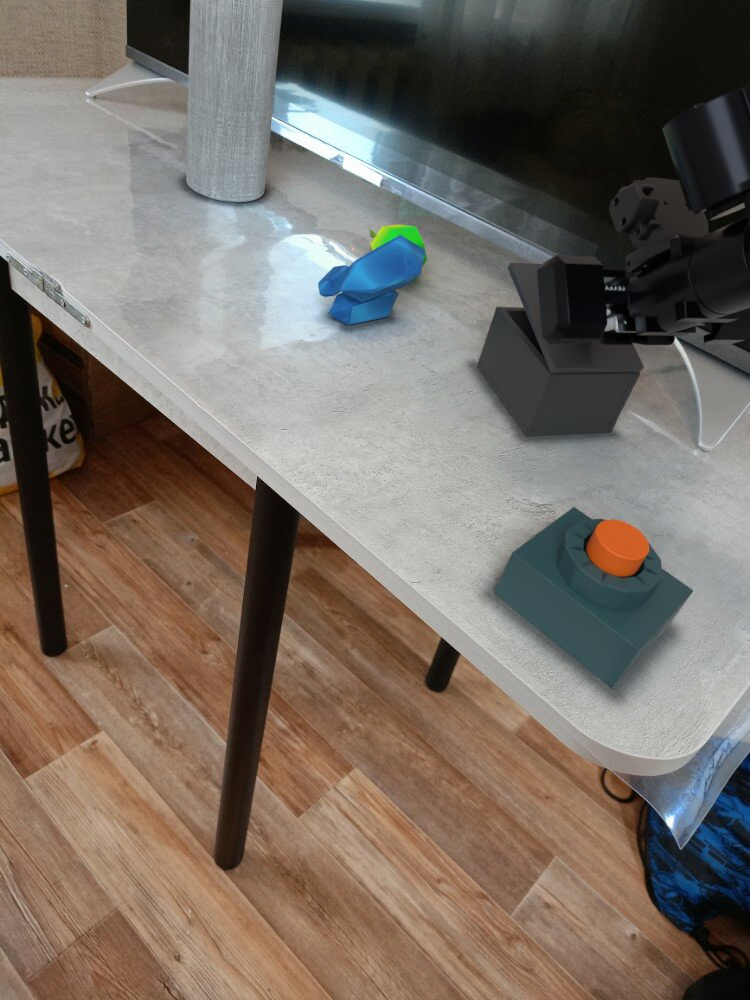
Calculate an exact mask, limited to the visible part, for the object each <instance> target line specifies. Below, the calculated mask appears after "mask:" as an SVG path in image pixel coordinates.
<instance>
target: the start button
mask: <svg viewBox="0 0 750 1000" xmlns="http://www.w3.org/2000/svg"><path fill="white" fill-rule="evenodd" d="M604 520H605V521H602V522H601V523H599V524H598V525H597V527H596V528H595V530H594V532H593V534H592V536H591V538H590V540H589V541H588V543H587V547H586V551H587V555H588V557H589V559H590V560H591V561H592V562H593V564H594V565H596V566H597V567H598V568H600V569H601V570H603V571H604V572H606V573H608V574H611V575H615V576H618V577H627V576H631V575H633V574H635V573H636V572H637V571H638V569H639V567H640V566H641V564H642V563H643V561H644V559H645V558H646V556H647V555H648V553H649V544H650V542H649V541H648V539H647V538H646V536H645V534H643V533H642V531H641V530H639V529H638V528H637V527H635V526H634V525H632V524H630V523H628V522H626V521H622V520H619V519H604ZM648 542H649V543H648Z"/></svg>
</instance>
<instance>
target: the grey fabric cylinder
mask: <svg viewBox="0 0 750 1000" xmlns="http://www.w3.org/2000/svg"><path fill="white" fill-rule="evenodd" d="M189 1H190V2H189V35H188V36H189V40H188V41H189V42H188V43H189V44H188V47H189V48H188V78H187V79H188V80H187V81H188V82H187V119H186V122H187V123H186V125H187V126H186V163H185V173H186V174H185V177H186V178H185V179H186V180H185V181H186V184H187V186H188V187H189V188H191V190H192V191H194V192H195V193H197V194H198V195H200V196H203V197H205V198H209V199H211V200H215V201H220V202H225V203H248V202H254V201H256V200H258V199H260V198H261V197H263V196H264V194H265V190H266V184H267V174H268V162H269V152H270V143H271V142H270V141H271V133H272V131H271V130H272V121H273V110H274V100H275V99H274V98H275V89H276V87H275V86H276V80H277V79H276V78H277V69H278V68H277V67H278V57H279V56H278V55H279V47H280V45H279V44H280V35H281V25H282V15H283V4H284V0H189Z"/></svg>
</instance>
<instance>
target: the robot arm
mask: <svg viewBox="0 0 750 1000" xmlns="http://www.w3.org/2000/svg"><path fill="white" fill-rule="evenodd" d="M662 132H663V135H664V139H665V141H666V145H667V149H668V151H669V154H670V157H671V160H672V164H673V167H674V170H675V173H676V177H677V179H669V178H659V177H646V178H645V179H643V180H639V179H634V180H633V181H632V182H631V184H629V185H628V186H621V187H620V188H619V190H618V192H617V193H616V194H615V196H614V197H613V198H612V200H611V201H610V202H609V208H608V211H609V214H610V217H611V220H612V223H613V226H614V228H615V231H616V233H618V234H626V235H628V236H629V239H630V242H631V245H632V247H633V248H634V251H633V252H631V253H629V254H627V255H624V257H625V268H626V269H615V268H614V269H613V268H604V264H603V263H602V262H601V261H599V259H597V258H596V257H595V256H584V255H583V256H582V255H564V254H556V255H554V256H552V257H551V258H549V259H547V260H546V261H544V262H543V263H541V264H542V265H541V266H540V267H539V268H538V270H537V276H538V289H539V303H540V316H541V329H542V337H543V338H544V339H545V341H546V342H547V343H548V344H583V343H590V342H594V341H597V340H599V342H600V343H601V344H604V345H632V343H633V344H636V345H641V346H642V345H643V346H671V345H673V344H674V342H675V341H676V337H677V336H679V337H682V336H683V337H684V336H685V337H687V336H689V335H693V334H696V333H697V326H705V325H708V324H709V323H710V324H711V332H710V333H707V334H703V345H704V346H730V345H733V344H736V343H741V342H744V341H746V340H747V338H748V337H749V335H750V83H749V84H747V85H746V86H744V87H741V88H738V89H735V90H732V91H729V92H726V93H724V94H722V95H720V96H718V97H715V98H713V99H711V100H709V101H707V102H703V103H697V104H694V105H692V106H691V107H688V108H686V109H685V110H684V111H682V112H680V113H679V114H678V115H676V116H675V117H673V118H672V119H670V120H669V121H668V122H667V123H666V124H664V126H663V128H662ZM743 209H745V211H746V215H745V216H744V217H742V218H740V219H737V220H735V221H733V222H731V223H729V224H726V225H725V226H722V227H721V228H718V229H716V230H714V231H712V232H709V222H708V221H713V220H714V221H715V220H717V219H720V218H722V217H725V216H728V215H730V214H733V213H736V212H738V211H740V210H743ZM705 212H706V214H705ZM706 215H707V216H706ZM707 218H708V219H707ZM627 273H631V277H627Z"/></svg>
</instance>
